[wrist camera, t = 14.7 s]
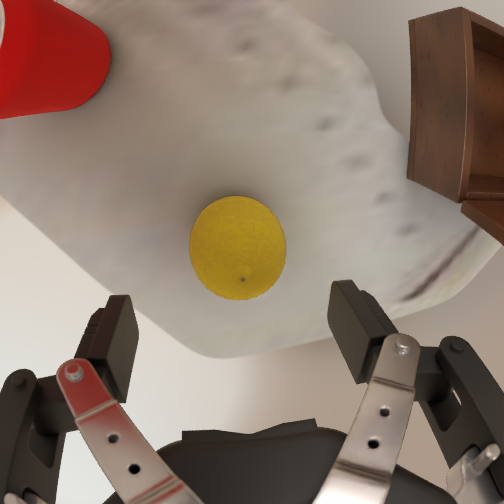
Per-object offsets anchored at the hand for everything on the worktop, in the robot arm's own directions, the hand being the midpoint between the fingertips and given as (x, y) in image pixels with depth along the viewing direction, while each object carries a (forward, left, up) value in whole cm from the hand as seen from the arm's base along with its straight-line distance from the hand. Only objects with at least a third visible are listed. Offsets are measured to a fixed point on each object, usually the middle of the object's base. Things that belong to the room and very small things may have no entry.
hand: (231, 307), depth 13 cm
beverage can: (-12, -9, -11) cm, 19 cm away
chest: (-9, +21, -11) cm, 25 cm away
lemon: (0, +1, -11) cm, 11 cm away
